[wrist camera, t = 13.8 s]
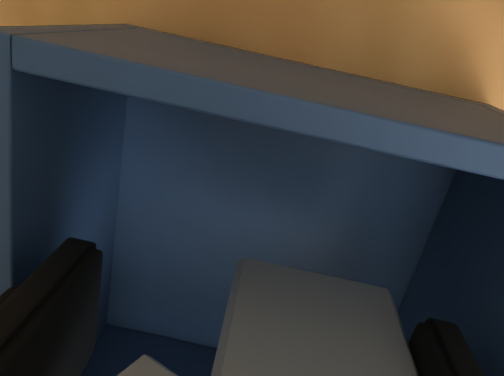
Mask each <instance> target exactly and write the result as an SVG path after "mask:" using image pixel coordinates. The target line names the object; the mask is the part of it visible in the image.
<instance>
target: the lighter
mask: <svg viewBox="0 0 504 376" xmlns="http://www.w3.org/2000/svg"><path fill="white" fill-rule="evenodd" d="M117 376H178V375H176V374H175V373H173V372H172V371H170V370H169V369H168V368H166V367H165V366H163V365H162V364H160V363H159V362H158V361H156V360H155V359H153V358H152V357H150V356H148V355H143V356H141V357H140V358H139V359H138V360H136V361H135V362H134V363H133V364H131V365H130V366H129V367H127V368H126V369H125V370H124V371H122V372H121V373H120V374H119V375H117ZM211 376H419V374H418V371H417V368H416V365H415V362H414V359H413V356H412V353H411V350H410V348H409V345H408V341H407V338H406V335H405V332H404V329H403V326H402V324H401V321H400V318H399V315H398V312H397V309H396V306H395V303H394V301H393V298H392V295H391V294H390V292H389V290H388V289H387V288H382V287H378V286H373V285H368V284H364V283H359V282H355V281H350V280H346V279H341V278H336V277H332V276H327V275H323V274H318V273H313V272H309V271H304V270H300V269H295V268H290V267H286V266H281V265H277V264H272V263H268V262H263V261H258V260H254V259H249V258H243V259H241V260H239V261H238V262H237V265H236V269H235V273H234V278H233V282H232V286H231V291H230V295H229V299H228V304H227V308H226V312H225V317H224V321H223V325H222V330H221V334H220V338H219V343H218V347H217V351H216V356H215V360H214V364H213V369H212V373H211Z"/></svg>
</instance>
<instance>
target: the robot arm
mask: <svg viewBox="0 0 504 376" xmlns="http://www.w3.org/2000/svg"><path fill="white" fill-rule="evenodd" d="M102 261H103V252H102V251H101V250H97V249H96V244H95V243H94V242H91V241H86V240H82V239H77V238H73V237H69V238H67V239H66V240H65V241H64V242H63V243H62V244H61V245H60V246H59V247H58V248H57V249H56V250H55V251H54V252H53V253H52V254H51V255H50V256H49V257H48V258H47V259H46V260H45V261H44V262H43V263H42V264H41V265H40V266H39V267H38V268H37V269H36V270H35V271H34V272H33V273H32V274H31V275H30V276H29V277H28V278H27V279H26V280H25V281H24V282H23V283H22V284H21V285H20V286H13V287H10V288H9V289H8V290H6V291H5V292H4V293H3V294H2V295H1V296H0V376H80V374H81V373H82V371H83V369H84V368H85V366H86V364H87V363H88V361H89V359H90V357H91V355H92V353H93V351H94V348H95V344H96V338H97V325H98V312H99V300H100V287H101V274H102ZM408 345H409V348H410V350H411V353H412V356H413V359H414V362H415V365H416V368H417V371H418V374H419V376H484V374H483V372H482V371H481V369H480V367H479V365H478V363H477V361H476V359H475V357H474V355H473V354H472V352H471V350H470V348H469V346H468V344H467V342H466V340H465V338H464V337H463V335H462V333H461V331H460V329H459V327H458V326H457V325H456V324H455V323H452V322H447V321H443V320H439V319H434V318H428V319H426V320H425V322H424V323H423V322H419V323H418V324H417V325H416V327H415V329H414V331H413V333H412V336H411V338H410V340H409V342H408Z"/></svg>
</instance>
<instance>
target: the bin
mask: <svg viewBox="0 0 504 376" xmlns="http://www.w3.org/2000/svg"><path fill="white" fill-rule="evenodd" d="M69 237H73V238H77V239H82V240H86V241H91V242H94V243H95V244H96V249H97V250H101V251H102V252H103V261H102V274H101V287H100V300H99V312H98V325H97V338H96V344H95V348H94V351H93V353H92V355H91V357H90V359H89V361H88V363H87V364H86V366H85V368H84V369H83V371H82V373H81V374H80V376H117V375H119V374H120V373H121V372H122V371H124V370H125V369H126V368H127V367H129V366H130V365H131V364H133V363H134V362H135V361H136V360H138V359H139V358H140V357H141V356H143V355H148V356H150V357H152V358H153V359H155V360H156V361H158V362H159V363H160V364H162V365H163V366H165V367H166V368H168V369H169V370H170V371H172V372H173V373H175V374H176V375H178V376H211V373H212V369H213V364H214V360H215V356H216V351H217V347H218V343H219V338H220V334H221V330H222V325H223V321H224V317H225V312H226V308H227V304H228V299H229V295H230V291H231V286H232V282H233V278H234V273H235V269H236V265H237V262H238V261H239V260H241V259H243V258H249V259H254V260H258V261H263V262H268V263H272V264H277V265H281V266H286V267H290V268H295V269H300V270H304V271H309V272H313V273H318V274H323V275H327V276H332V277H336V278H341V279H346V280H350V281H355V282H359V283H364V284H368V285H373V286H378V287H382V288H387V289H388V290H389V292H390V294H391V295H392V298H393V301H394V303H395V306H396V309H397V312H398V315H399V318H400V321H401V324H402V326H403V329H404V332H405V335H406V338H407V341H408V342H409V340H410V338H411V336H412V333H413V331H414V329H415V327H416V325H417V324H418V323H419V322H423V323H424V322H425V320H426V319H428V318H434V319H439V320H443V321H447V322H452V323H455V324H456V325H457V326H458V327H459V329H460V331H461V333H462V335H463V337H464V338H465V340H466V342H467V344H468V346H469V348H470V350H471V352H472V354H473V355H474V357H475V359H476V361H477V363H478V365H479V367H480V369H481V371H482V372H483V374H484V376H504V111H503V110H500V109H498V108H496V107H494V106H491V105H489V104H484V103H480V102H475V101H471V100H466V99H462V98H457V97H453V96H448V95H444V94H439V93H435V92H430V91H426V90H421V89H417V88H412V87H408V86H403V85H399V84H394V83H390V82H385V81H381V80H376V79H372V78H367V77H363V76H358V75H354V74H349V73H345V72H340V71H336V70H331V69H327V68H322V67H318V66H313V65H309V64H304V63H300V62H295V61H291V60H286V59H282V58H277V57H273V56H268V55H264V54H259V53H255V52H250V51H246V50H241V49H237V48H232V47H228V46H223V45H219V44H214V43H210V42H205V41H201V40H196V39H192V38H187V37H183V36H178V35H174V34H169V33H165V32H160V31H156V30H151V29H147V28H142V27H138V26H133V25H129V24H93V25H47V26H0V296H1V295H2V294H3V293H4V292H5V291H6V290H8V289H9V288H10V287H13V286H20V285H21V284H22V283H23V282H24V281H25V280H26V279H27V278H28V277H29V276H30V275H31V274H32V273H33V272H34V271H35V270H36V269H37V268H38V267H39V266H40V265H41V264H42V263H43V262H44V261H45V260H46V259H47V258H48V257H49V256H50V255H51V254H52V253H53V252H54V251H55V250H56V249H57V248H58V247H59V246H60V245H61V244H62V243H63V242H64V241H65V240H66V239H67V238H69Z"/></svg>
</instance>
